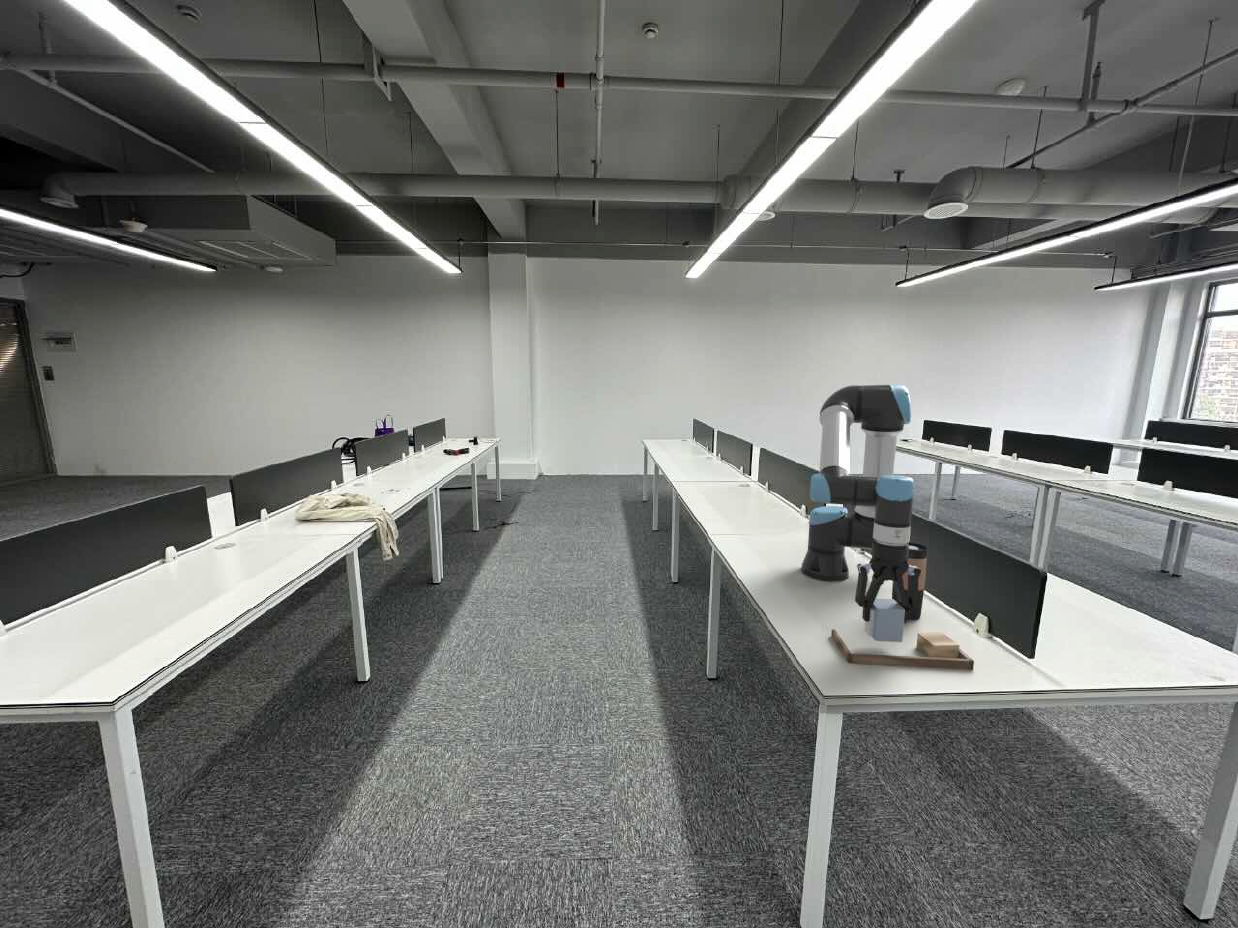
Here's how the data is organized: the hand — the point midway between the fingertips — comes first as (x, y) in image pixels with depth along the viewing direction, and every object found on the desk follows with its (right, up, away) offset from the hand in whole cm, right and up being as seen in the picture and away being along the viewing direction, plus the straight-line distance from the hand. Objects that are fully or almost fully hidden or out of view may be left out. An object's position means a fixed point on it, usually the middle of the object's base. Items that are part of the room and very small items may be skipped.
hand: (883, 633), depth 116 cm
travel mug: (+17, -2, +20) cm, 26 cm away
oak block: (+12, -5, -1) cm, 13 cm away
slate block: (0, 0, 0) cm, 0 cm away
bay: (+4, -4, 0) cm, 6 cm away
